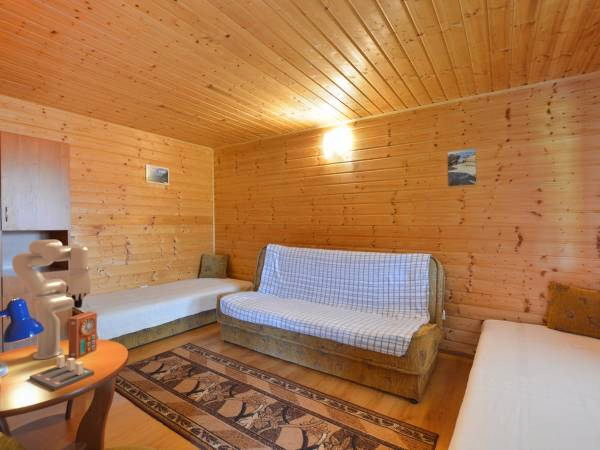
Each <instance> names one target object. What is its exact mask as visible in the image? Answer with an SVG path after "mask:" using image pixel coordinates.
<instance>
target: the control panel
mask: <svg viewBox="0 0 600 450" xmlns="http://www.w3.org/2000/svg"><path fill="white" fill-rule="evenodd" d="M97 342H98V312H97V311H92V310H90V311H86V312H83V313H80V314H77V315H72V316H70V317H69V318H68V359H69V358H74V359H75V360H78V359H81V358H83V357H85V356H87V355H89V354H91V353H93V352H95V351H97V349H98V348H97V347H98V343H97Z"/></svg>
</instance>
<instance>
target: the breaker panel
mask: <svg viewBox="0 0 600 450" xmlns="http://www.w3.org/2000/svg"><path fill="white" fill-rule="evenodd" d="M93 375H95V371H94V370H92V369H88V368H87V367H84V366H83V374H81V375H77V374H75V370H72V371H69V370H67V362H65V367H62V368H58V367H57V365H56V366H54V367H51V368H48V369H46V370H43V371H40V372H37V373H34V374H31V375H29V381H32V382H34V383H37V384H39V385H41V386H44V387H46V388H48V389H51V390H53V391H58V390H61V389H63V388H66V387H68V386H70V385H73V384H74V383H77V382H81V381H82V380H85V379H87V378H89V377H91V376H93Z"/></svg>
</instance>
